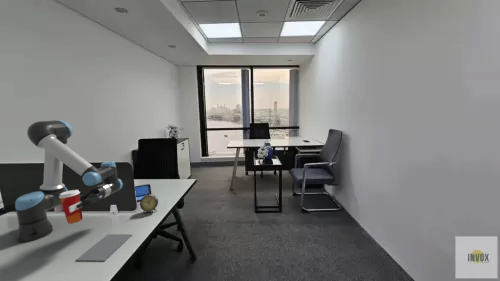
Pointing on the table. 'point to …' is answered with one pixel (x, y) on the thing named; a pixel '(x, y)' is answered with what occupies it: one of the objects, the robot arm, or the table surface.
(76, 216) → the coffee cup
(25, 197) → the robot arm
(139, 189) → the handheld game console
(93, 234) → the table surface
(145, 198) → the alarm clock
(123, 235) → the mat
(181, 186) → the table surface
